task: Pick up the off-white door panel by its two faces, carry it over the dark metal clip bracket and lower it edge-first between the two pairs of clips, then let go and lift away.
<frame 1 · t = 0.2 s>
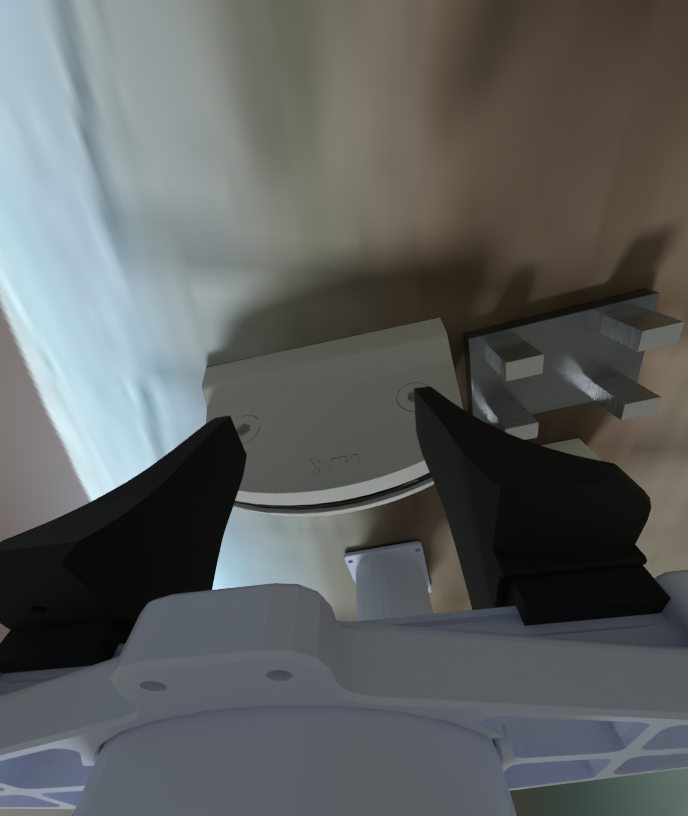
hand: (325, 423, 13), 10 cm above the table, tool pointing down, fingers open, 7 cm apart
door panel: (513, 461, 27), on the table
grey curved block: (332, 390, 24), on the table
clip bracket: (547, 361, 22), on the table
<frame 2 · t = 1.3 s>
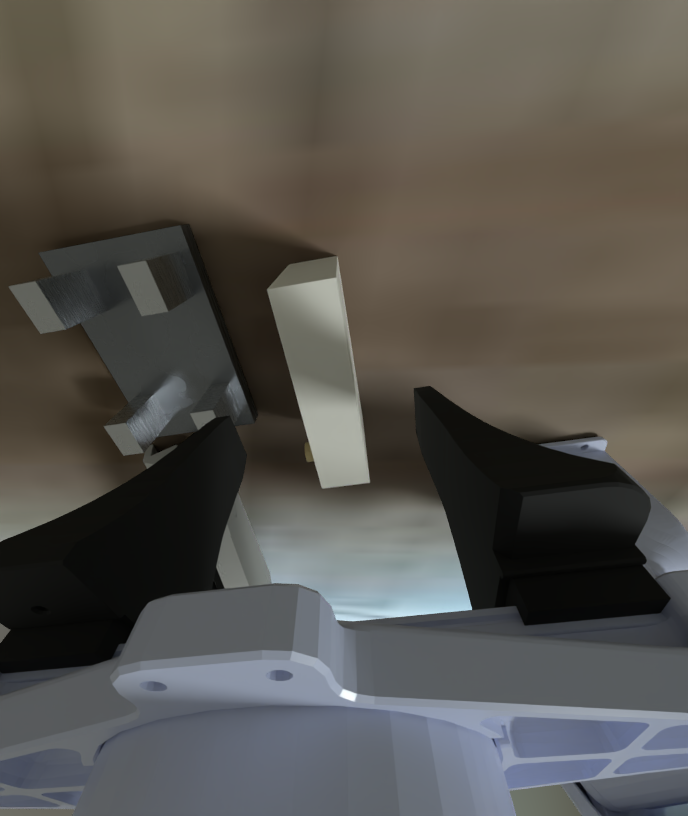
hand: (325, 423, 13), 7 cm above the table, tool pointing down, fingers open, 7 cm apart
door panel: (330, 351, 19), on the table
grey curved block: (234, 513, 27), on the table
clip bracket: (170, 343, 19), on the table
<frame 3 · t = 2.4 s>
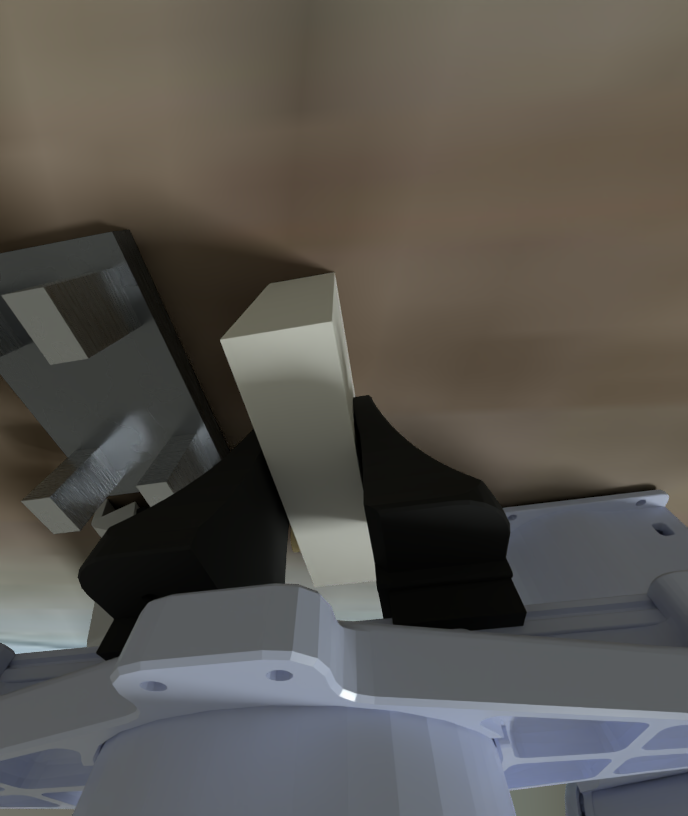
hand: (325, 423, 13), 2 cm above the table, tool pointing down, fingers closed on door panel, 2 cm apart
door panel: (326, 392, 15), on the table, touching gripper
grey curved block: (213, 570, 23), on the table
clip bracket: (118, 384, 14), on the table
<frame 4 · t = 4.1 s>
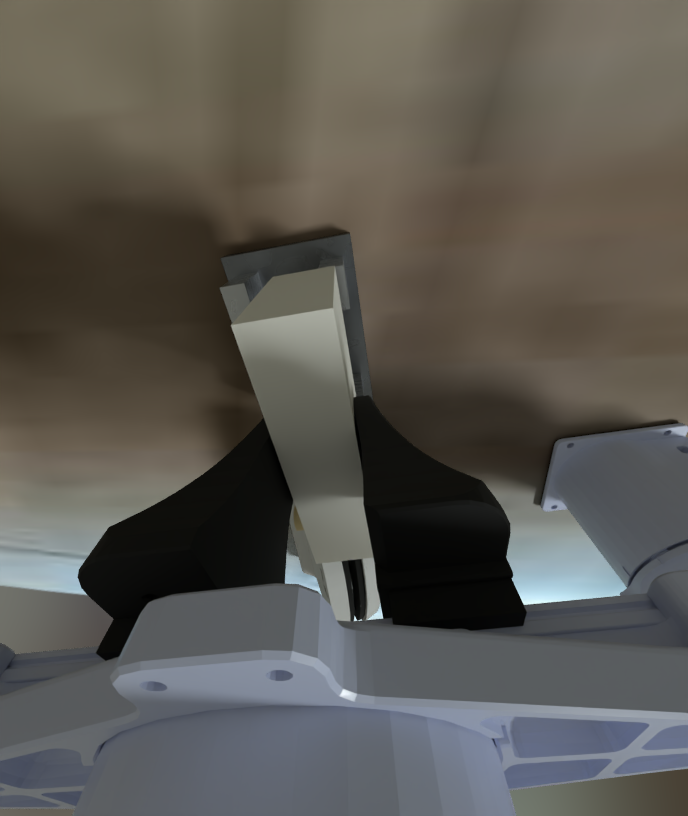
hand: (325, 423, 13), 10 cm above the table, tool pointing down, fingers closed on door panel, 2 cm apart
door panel: (327, 382, 15), point 6 cm above the table, touching gripper
grey curved block: (328, 497, 29), on the table
clip bracket: (308, 338, 21), on the table
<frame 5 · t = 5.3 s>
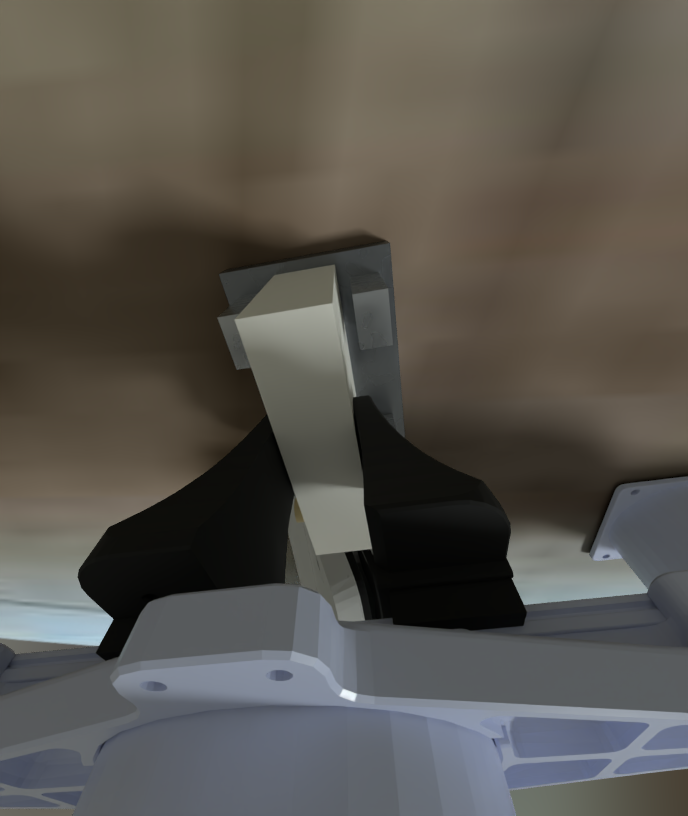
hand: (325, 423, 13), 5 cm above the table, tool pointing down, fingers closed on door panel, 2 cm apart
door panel: (327, 378, 16), point 1 cm above the table, touching clip bracket, gripper
grey curved block: (342, 544, 25), on the table
clip bracket: (328, 371, 17), on the table
when the fingers open (4 cm above the table, at t = 5.7 s): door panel stays where it is, resting on clip bracket.
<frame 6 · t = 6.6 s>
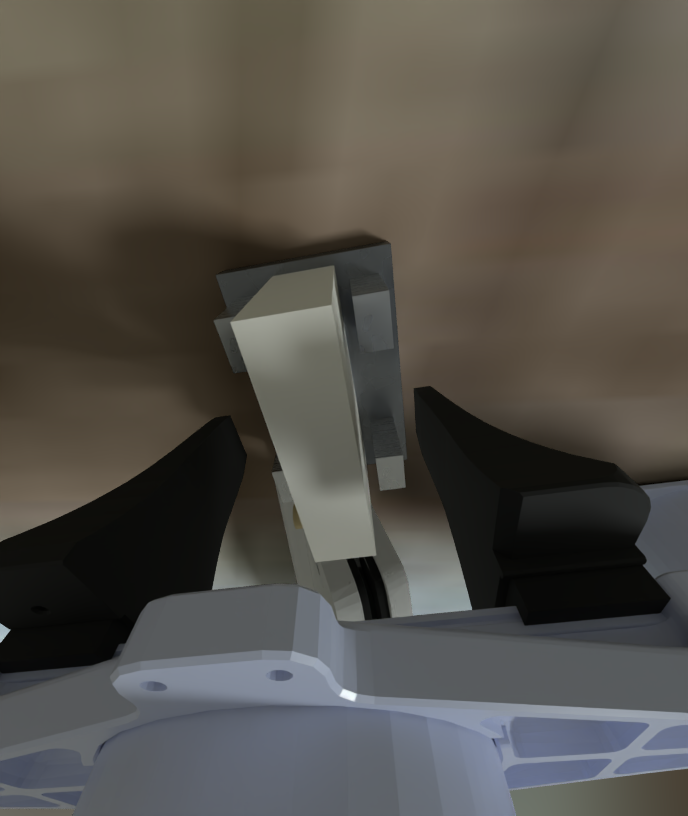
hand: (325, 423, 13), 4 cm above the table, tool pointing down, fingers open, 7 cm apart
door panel: (326, 381, 15), point 1 cm above the table, touching clip bracket
grey curved block: (342, 547, 25), on the table
clip bracket: (328, 373, 16), on the table
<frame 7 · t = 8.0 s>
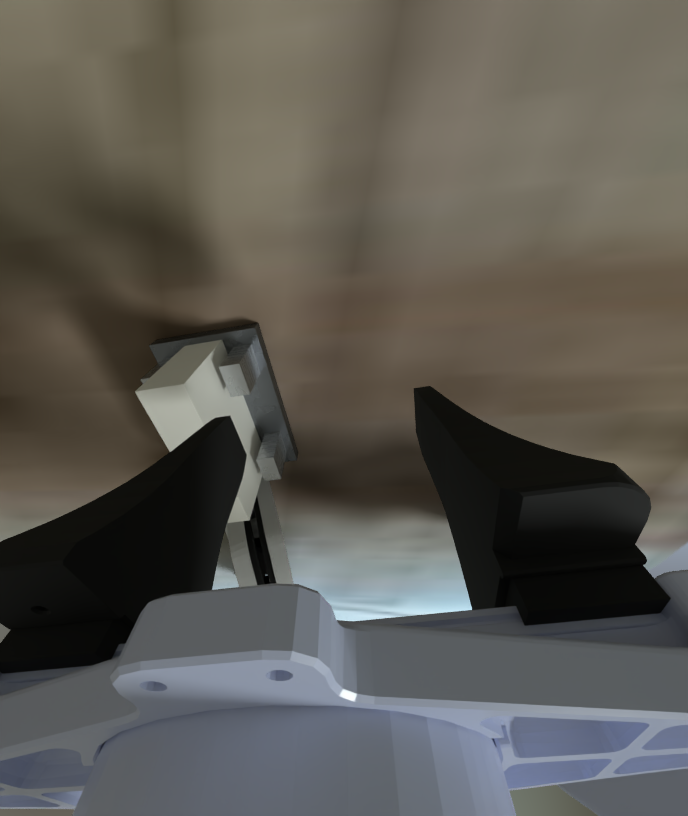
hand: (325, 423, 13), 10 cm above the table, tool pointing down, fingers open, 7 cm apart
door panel: (230, 408, 23), point 1 cm above the table, touching clip bracket
grey curved block: (268, 527, 32), on the table
clip bracket: (234, 402, 24), on the table
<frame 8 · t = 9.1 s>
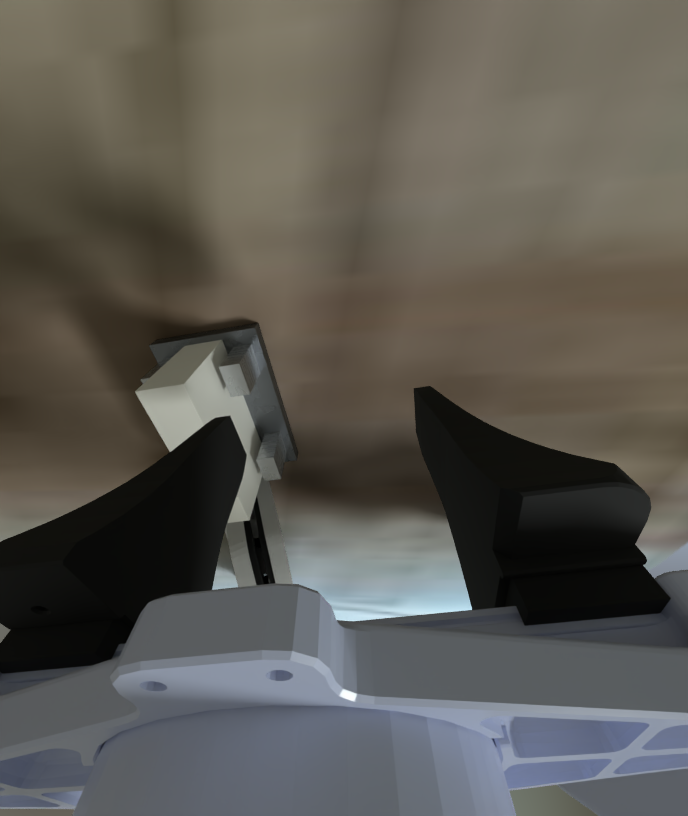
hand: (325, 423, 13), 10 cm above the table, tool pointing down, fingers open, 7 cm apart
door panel: (230, 408, 23), point 1 cm above the table, touching clip bracket
grey curved block: (267, 527, 32), on the table
clip bracket: (234, 402, 24), on the table
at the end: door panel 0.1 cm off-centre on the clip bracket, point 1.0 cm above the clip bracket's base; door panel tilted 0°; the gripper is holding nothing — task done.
